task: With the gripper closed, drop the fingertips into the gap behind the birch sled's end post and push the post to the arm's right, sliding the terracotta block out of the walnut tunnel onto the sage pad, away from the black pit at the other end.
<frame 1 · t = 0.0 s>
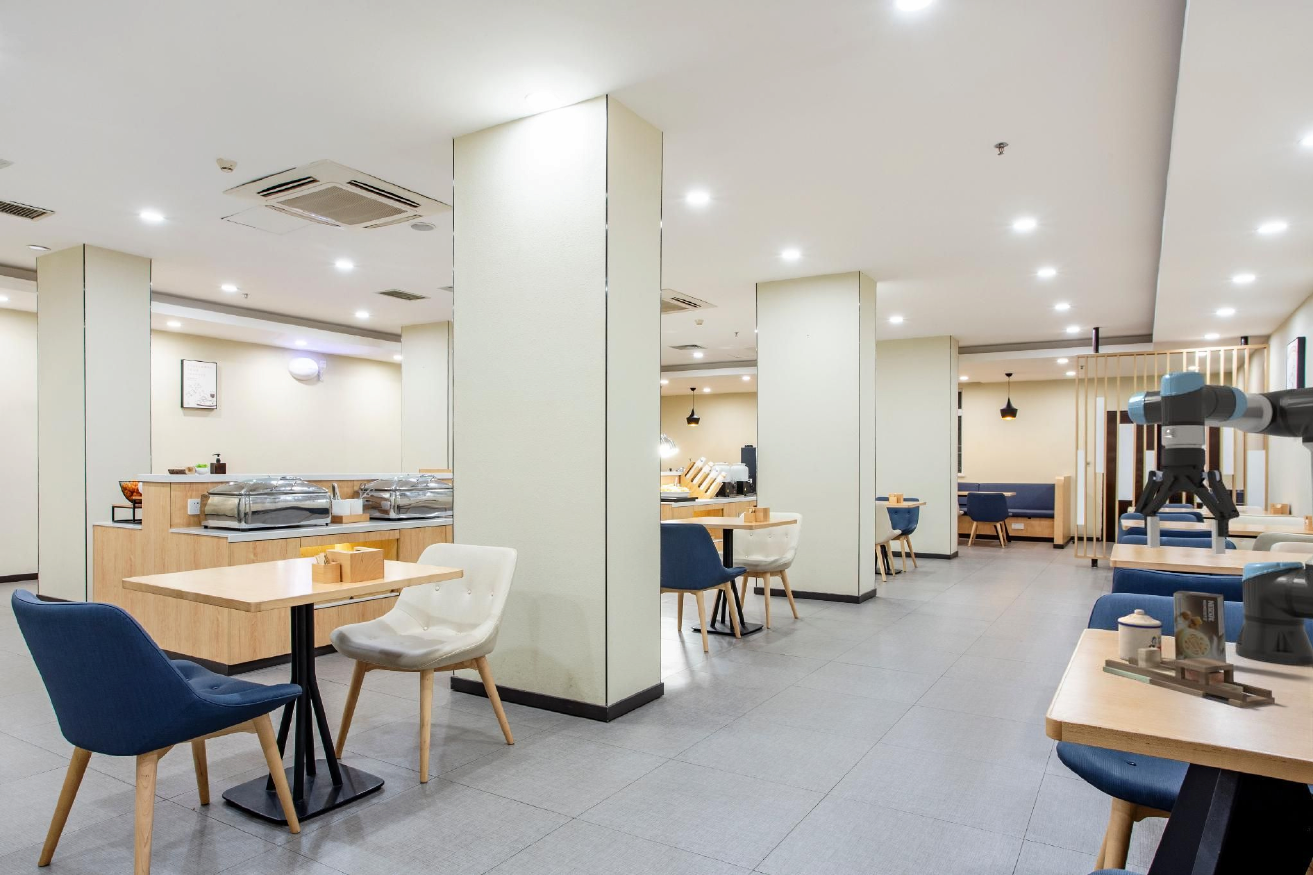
hand: (1184, 550, 162), 28 cm above the table, tool pointing down, fingers open, 13 cm apart
tunnel board: (1194, 688, 161), on the table
teacup with lid: (1142, 659, 188), on the table
coffee box: (1200, 663, 185), on the table
sled: (1188, 669, 162), point 4 cm above the table, slide at 0.0 cm
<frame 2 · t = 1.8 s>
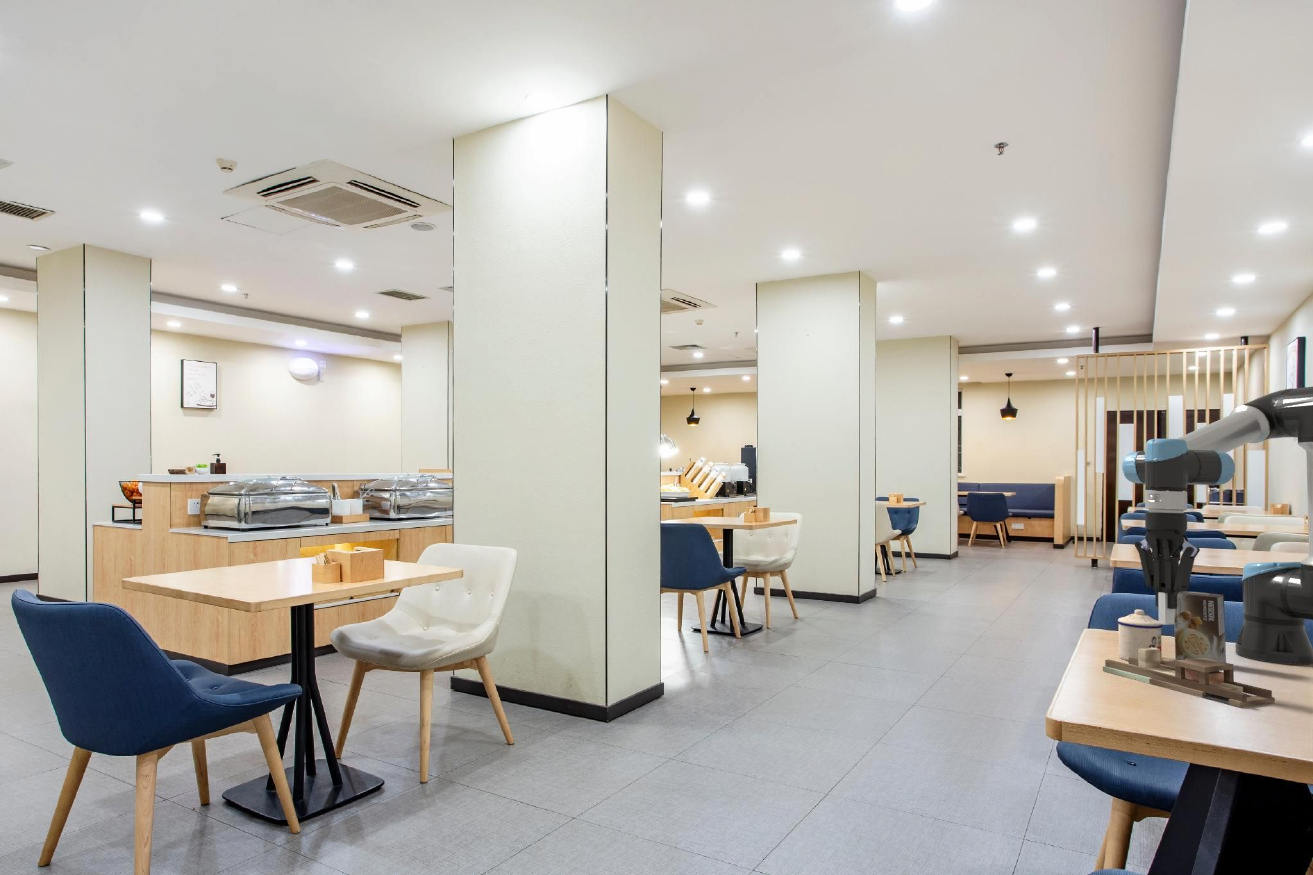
hand: (1166, 623, 167), 12 cm above the table, tool pointing down, fingers closed
nothing on the table moved.
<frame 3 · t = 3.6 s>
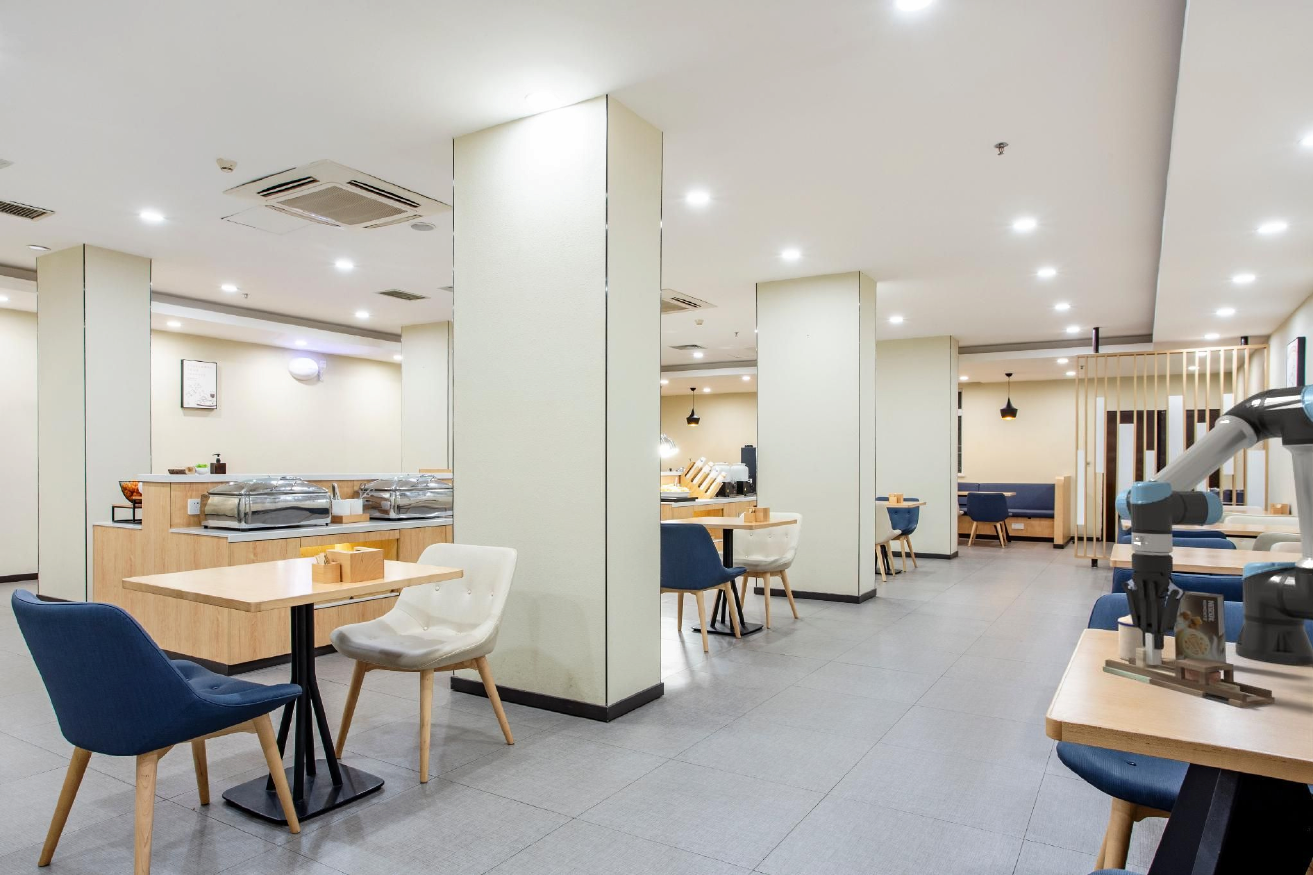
hand: (1153, 663, 169), 3 cm above the table, tool pointing down, fingers closed
sled: (1185, 668, 163), point 4 cm above the table, slide at 0.6 cm, touching gripper
everything else where it was.
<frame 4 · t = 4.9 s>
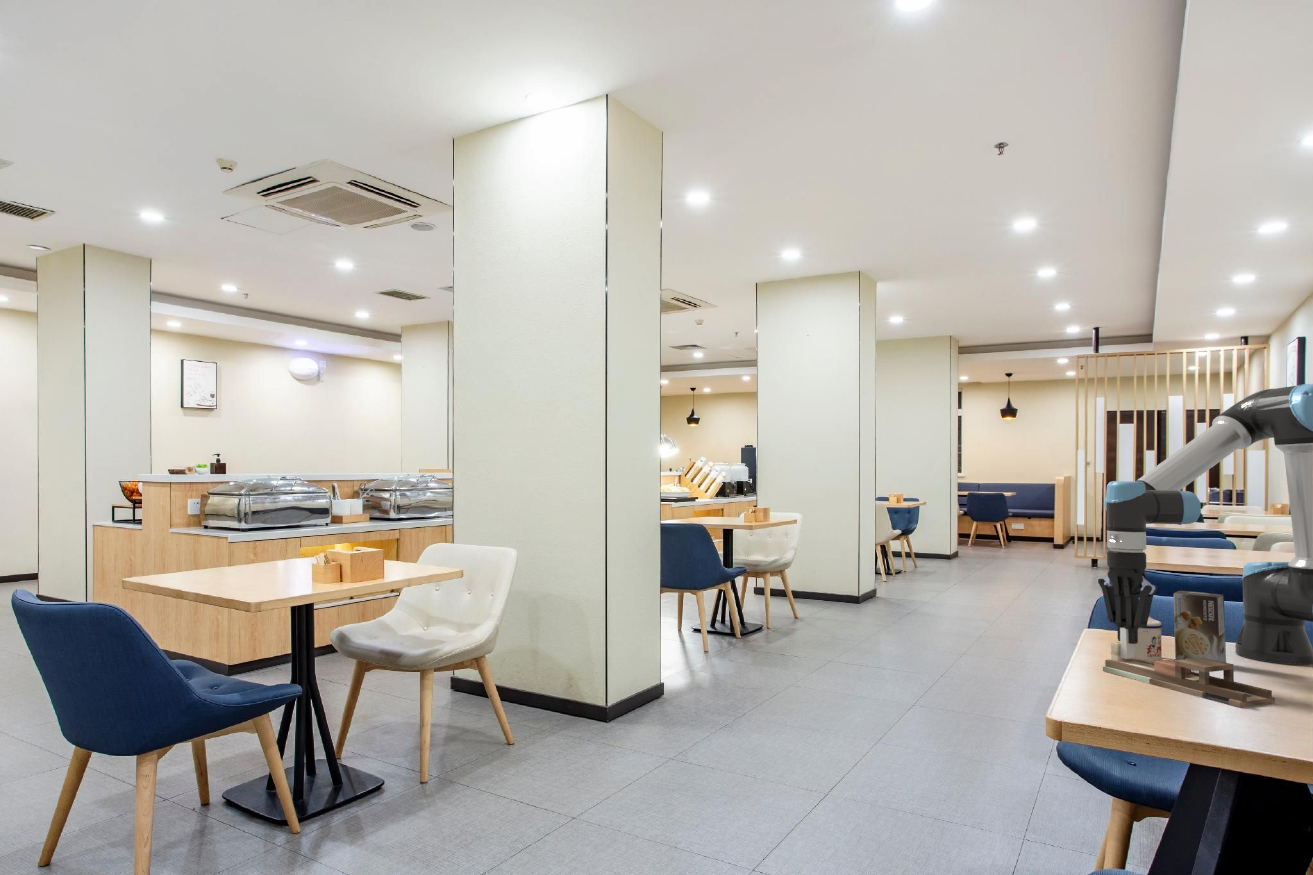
hand: (1127, 657, 175), 3 cm above the table, tool pointing down, fingers closed
sled: (1157, 662, 168), point 4 cm above the table, slide at 6.6 cm, touching gripper
everything else where it was.
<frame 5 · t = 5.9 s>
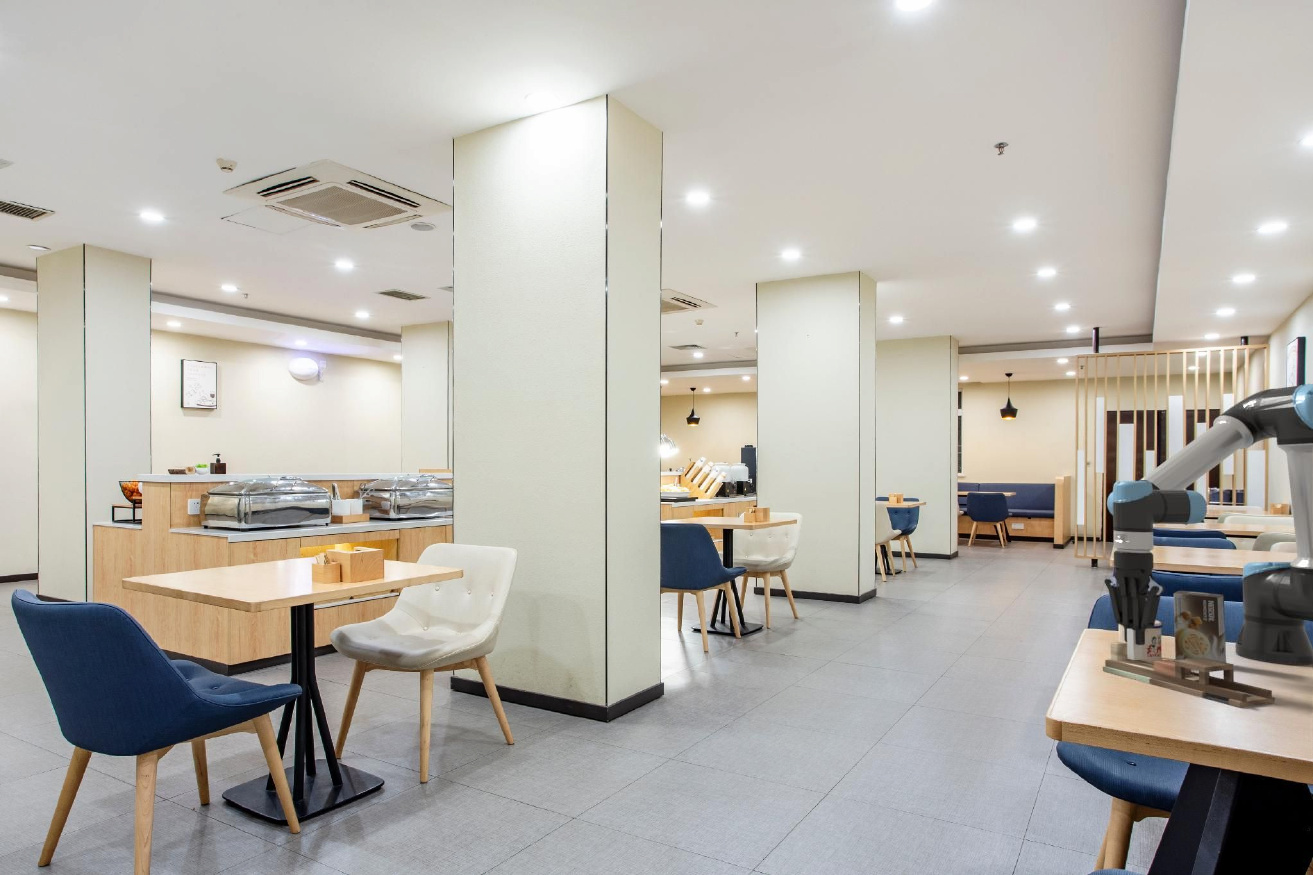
hand: (1134, 658, 173), 3 cm above the table, tool pointing down, fingers closed
sled: (1157, 662, 169), point 4 cm above the table, slide at 6.7 cm
everything else where it was.
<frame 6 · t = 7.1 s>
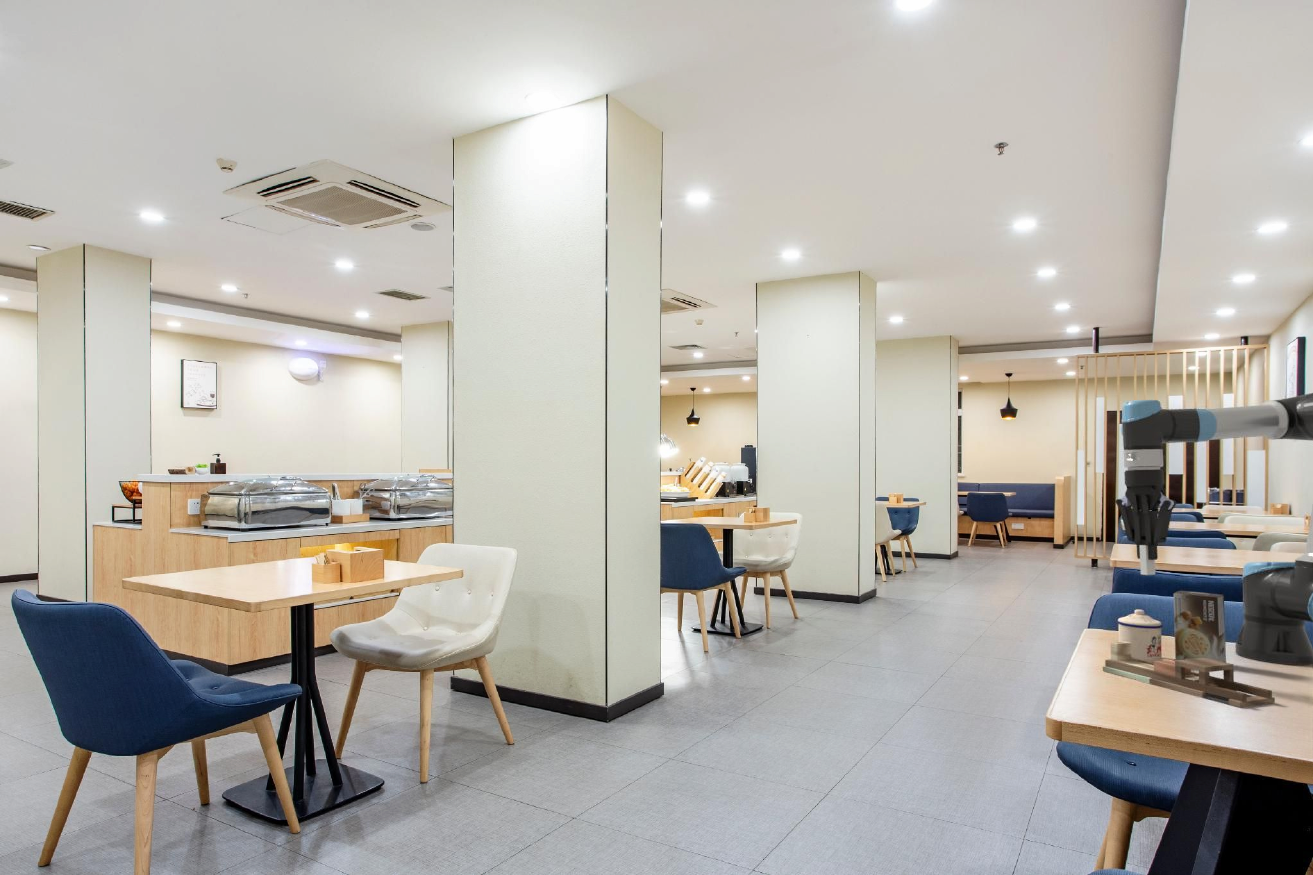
hand: (1148, 574, 177), 21 cm above the table, tool pointing down, fingers closed
nothing on the table moved.
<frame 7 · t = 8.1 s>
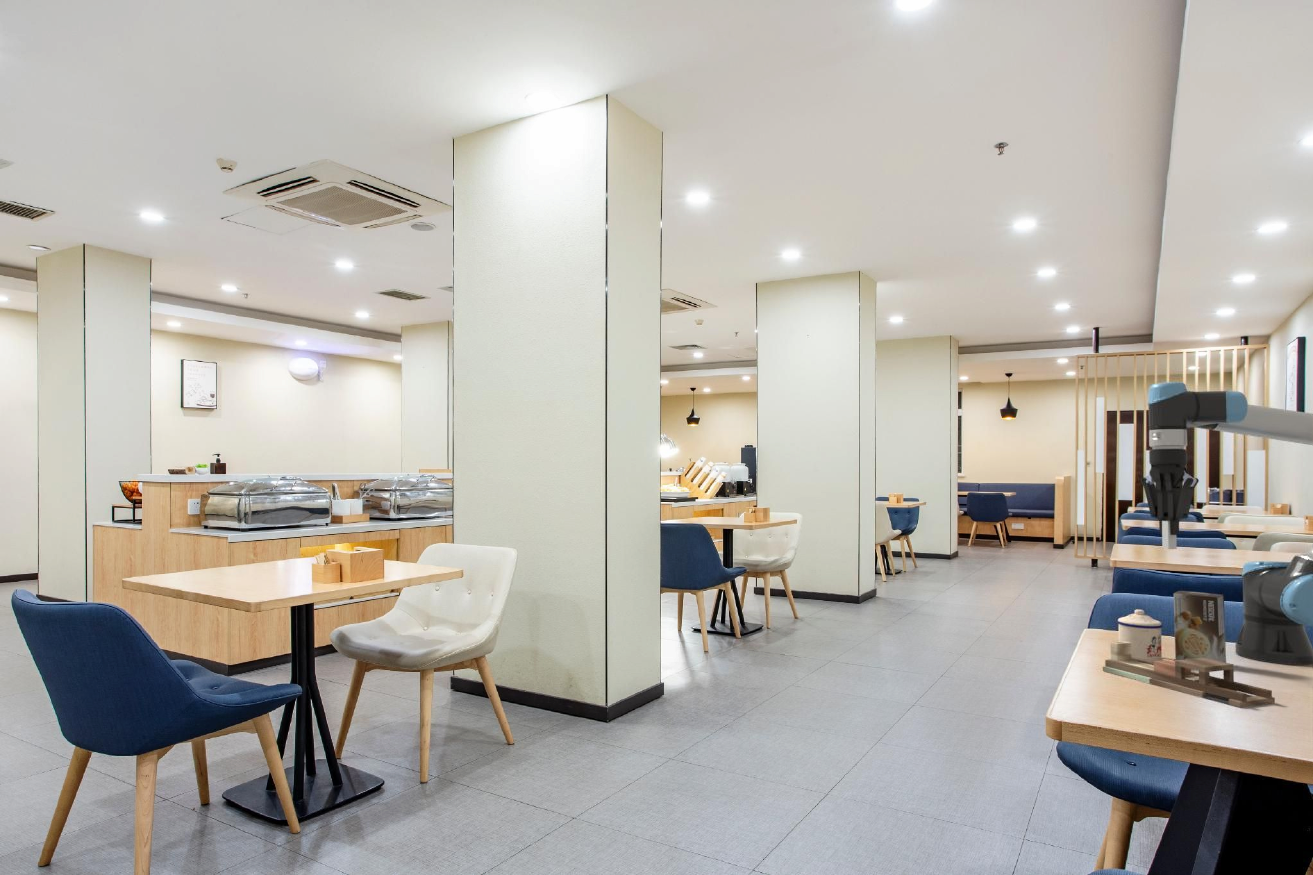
hand: (1169, 548, 185), 26 cm above the table, tool pointing down, fingers closed
nothing on the table moved.
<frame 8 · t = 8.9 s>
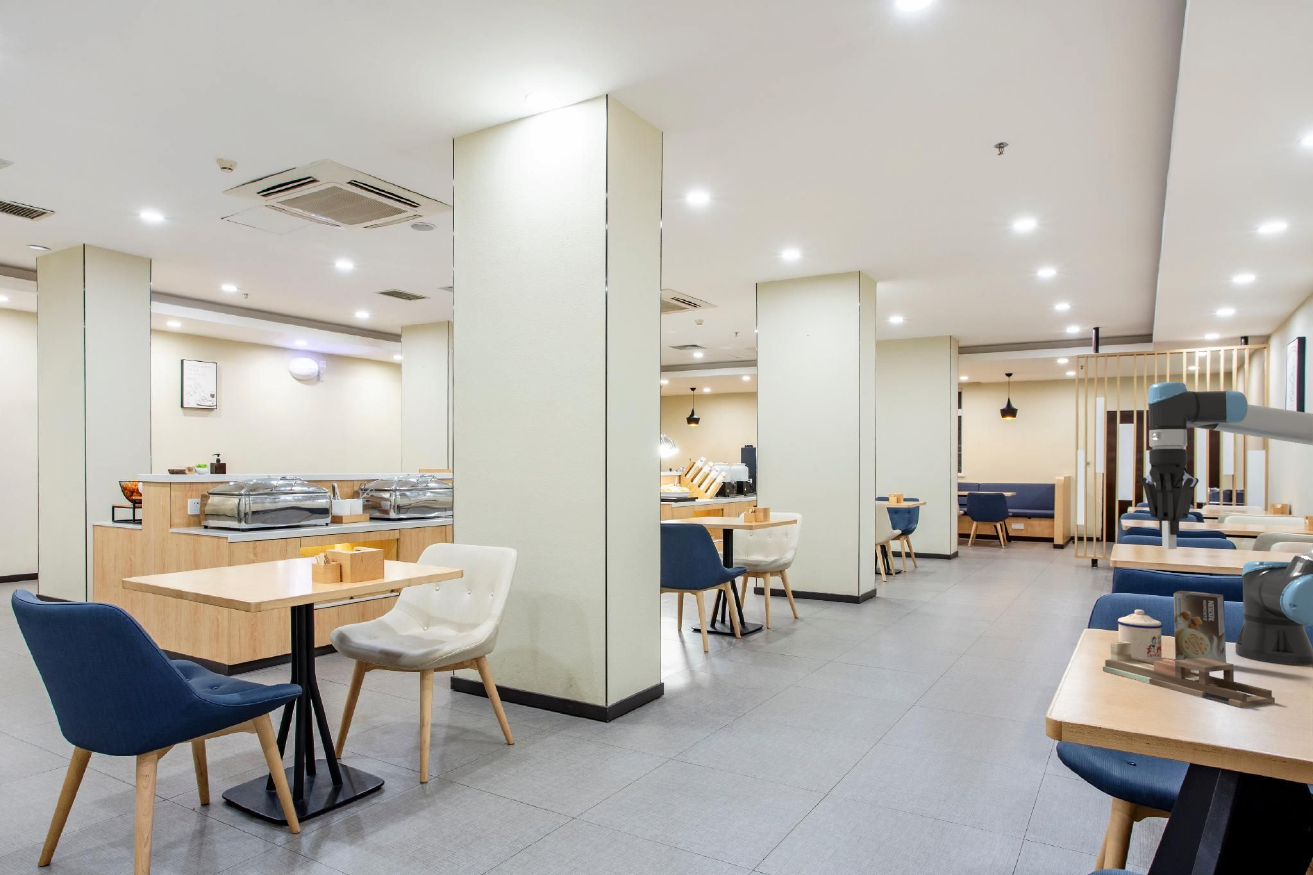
hand: (1169, 548, 185), 26 cm above the table, tool pointing down, fingers closed
nothing on the table moved.
at the end: sled slide at 6.7 cm; the gripper is holding nothing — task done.
